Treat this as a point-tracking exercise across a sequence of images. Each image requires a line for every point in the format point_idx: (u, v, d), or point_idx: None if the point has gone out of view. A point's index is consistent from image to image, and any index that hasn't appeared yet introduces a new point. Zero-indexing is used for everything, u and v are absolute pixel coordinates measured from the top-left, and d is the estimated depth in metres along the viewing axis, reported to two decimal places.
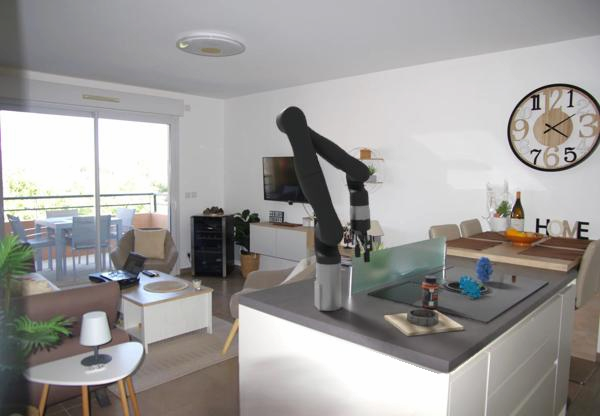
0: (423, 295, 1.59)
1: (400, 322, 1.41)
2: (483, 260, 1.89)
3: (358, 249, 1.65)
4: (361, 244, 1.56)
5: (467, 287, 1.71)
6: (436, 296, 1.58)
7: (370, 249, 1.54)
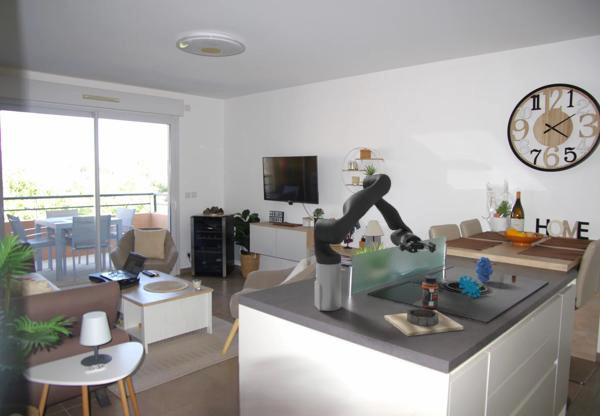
0: (423, 295, 1.59)
1: (400, 322, 1.41)
2: (483, 260, 1.89)
3: None
4: (426, 243, 1.76)
5: (467, 287, 1.71)
6: (436, 296, 1.58)
7: None
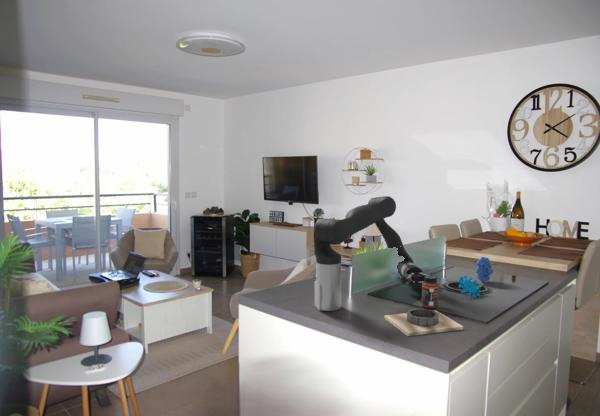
0: (423, 295, 1.59)
1: (400, 322, 1.41)
2: (483, 260, 1.89)
3: None
4: None
5: (466, 287, 1.71)
6: (436, 296, 1.58)
7: None
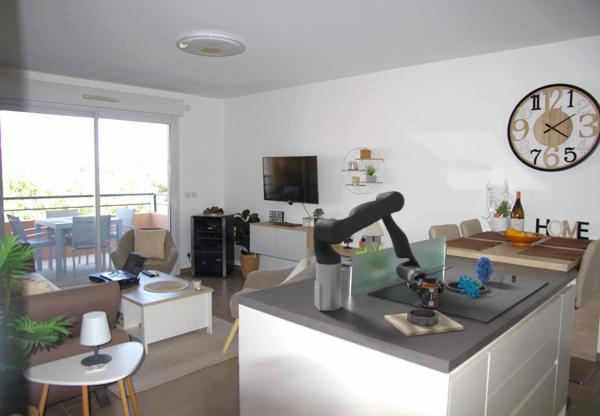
0: (423, 295, 1.59)
1: (400, 322, 1.41)
2: (483, 260, 1.89)
3: None
4: None
5: (466, 286, 1.72)
6: (436, 296, 1.58)
7: None
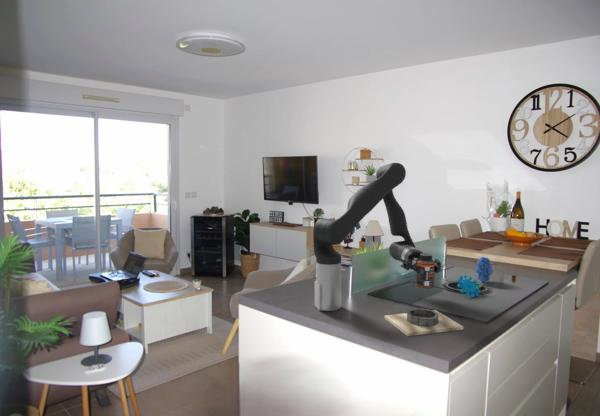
0: (418, 274, 1.45)
1: (400, 322, 1.41)
2: (483, 260, 1.89)
3: None
4: None
5: (465, 286, 1.72)
6: (432, 275, 1.44)
7: None
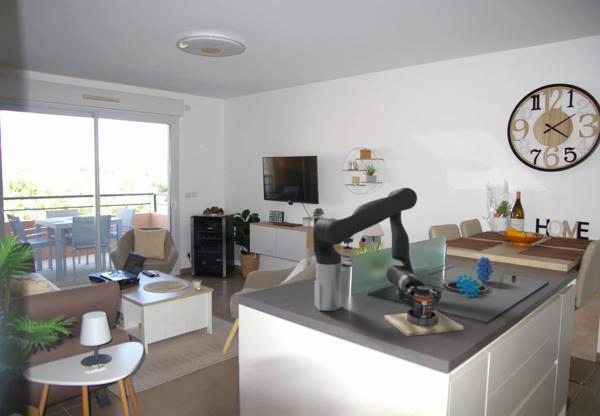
0: (415, 308, 1.41)
1: (400, 322, 1.41)
2: (483, 260, 1.89)
3: None
4: None
5: (464, 286, 1.73)
6: (429, 309, 1.40)
7: None
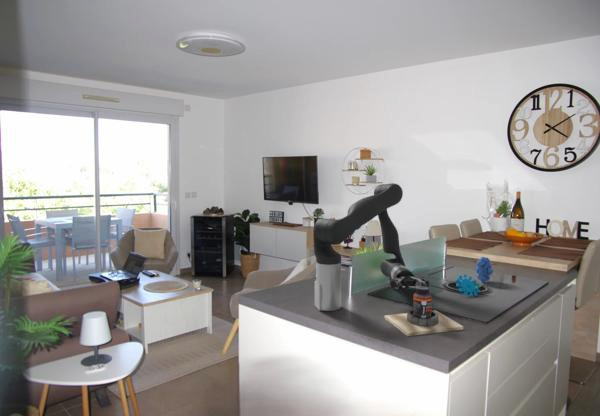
0: (414, 308, 1.41)
1: (400, 322, 1.41)
2: (483, 260, 1.89)
3: None
4: (418, 279, 1.59)
5: (464, 286, 1.73)
6: (429, 309, 1.40)
7: None
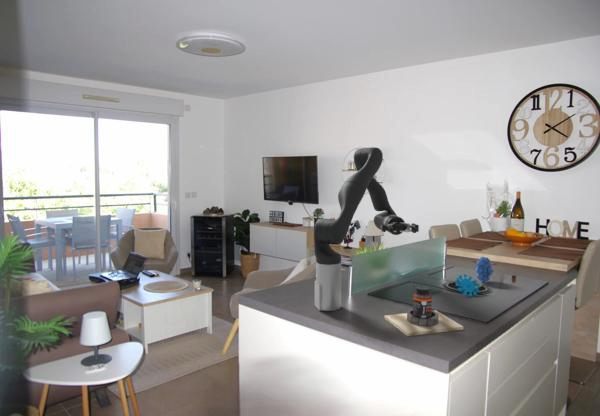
0: (414, 308, 1.41)
1: (400, 322, 1.41)
2: (483, 260, 1.89)
3: None
4: None
5: (463, 285, 1.73)
6: (429, 309, 1.40)
7: None
